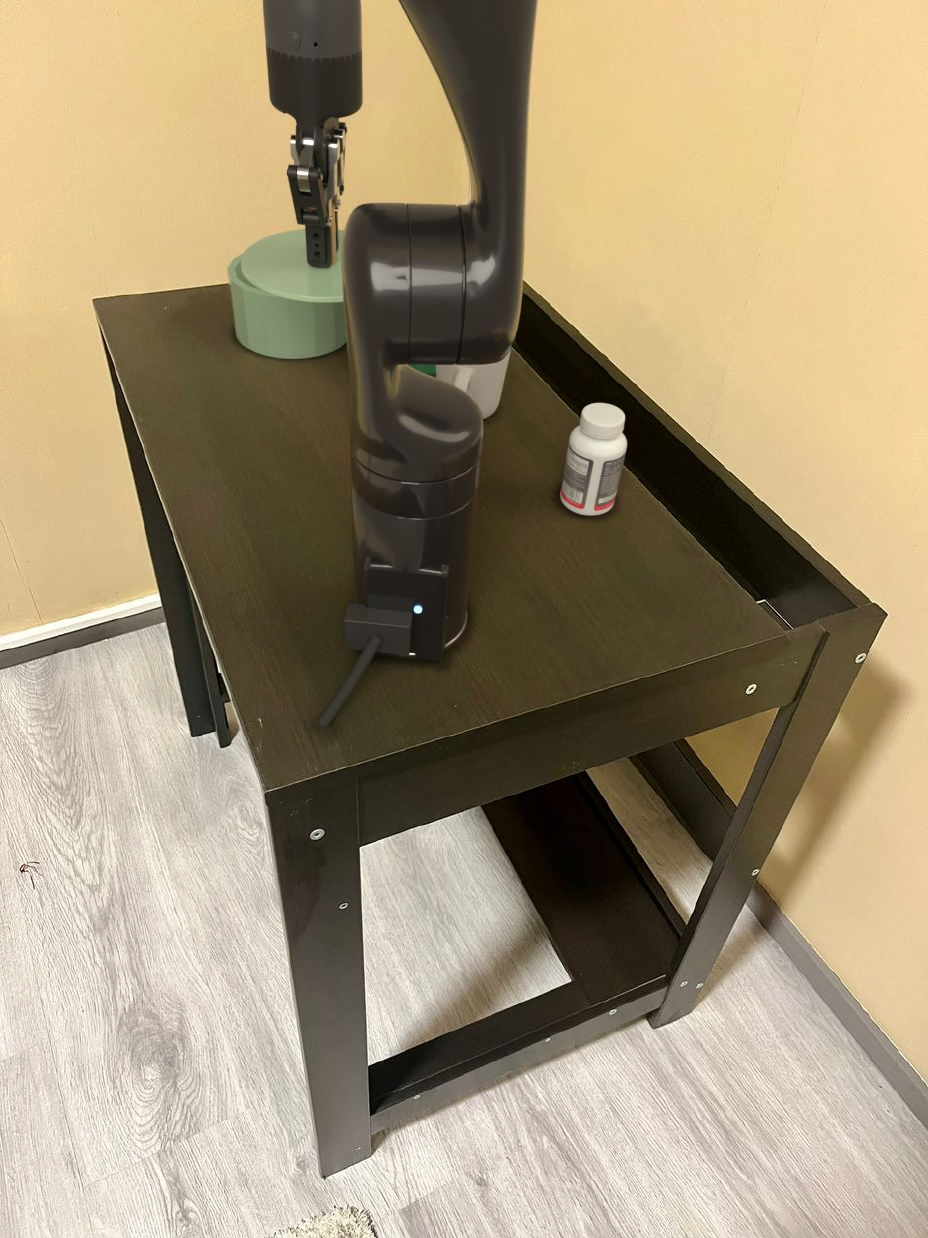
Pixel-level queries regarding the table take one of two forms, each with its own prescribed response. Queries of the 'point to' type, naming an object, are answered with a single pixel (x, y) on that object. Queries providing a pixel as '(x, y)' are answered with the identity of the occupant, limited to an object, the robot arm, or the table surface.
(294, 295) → the lid
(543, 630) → the table surface
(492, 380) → the cup
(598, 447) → the pill bottle
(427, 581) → the robot arm
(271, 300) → the pot
